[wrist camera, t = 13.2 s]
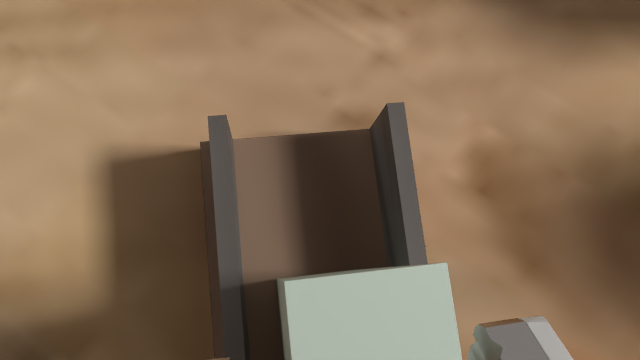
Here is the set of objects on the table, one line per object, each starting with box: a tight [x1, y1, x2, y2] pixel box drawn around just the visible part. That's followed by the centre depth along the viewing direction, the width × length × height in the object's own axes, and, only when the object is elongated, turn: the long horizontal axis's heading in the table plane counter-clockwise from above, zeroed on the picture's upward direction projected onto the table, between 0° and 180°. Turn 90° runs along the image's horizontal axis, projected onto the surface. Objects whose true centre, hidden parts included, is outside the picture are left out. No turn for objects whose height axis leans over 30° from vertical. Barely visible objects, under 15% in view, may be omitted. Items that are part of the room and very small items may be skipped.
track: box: [200, 102, 428, 360], centre depth 17 cm, size 8×16×4 cm, turn 6°
